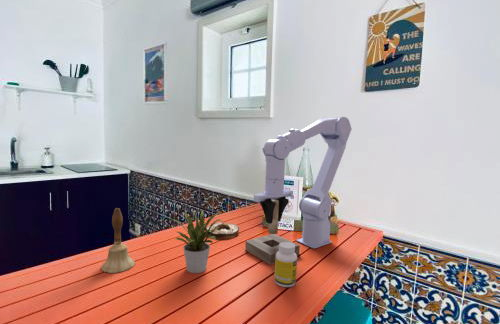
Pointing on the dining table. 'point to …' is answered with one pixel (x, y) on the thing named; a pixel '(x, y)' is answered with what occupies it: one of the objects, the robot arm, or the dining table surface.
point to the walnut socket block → (267, 247)
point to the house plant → (197, 243)
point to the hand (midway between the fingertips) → (273, 221)
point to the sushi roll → (224, 230)
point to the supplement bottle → (286, 265)
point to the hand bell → (117, 249)
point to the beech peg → (274, 219)
